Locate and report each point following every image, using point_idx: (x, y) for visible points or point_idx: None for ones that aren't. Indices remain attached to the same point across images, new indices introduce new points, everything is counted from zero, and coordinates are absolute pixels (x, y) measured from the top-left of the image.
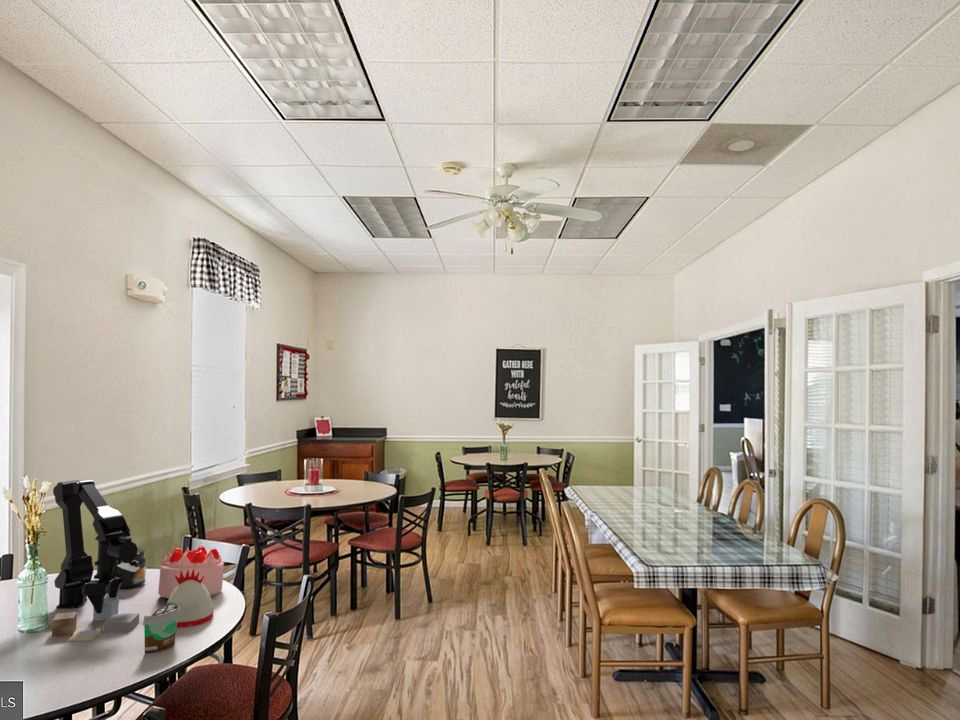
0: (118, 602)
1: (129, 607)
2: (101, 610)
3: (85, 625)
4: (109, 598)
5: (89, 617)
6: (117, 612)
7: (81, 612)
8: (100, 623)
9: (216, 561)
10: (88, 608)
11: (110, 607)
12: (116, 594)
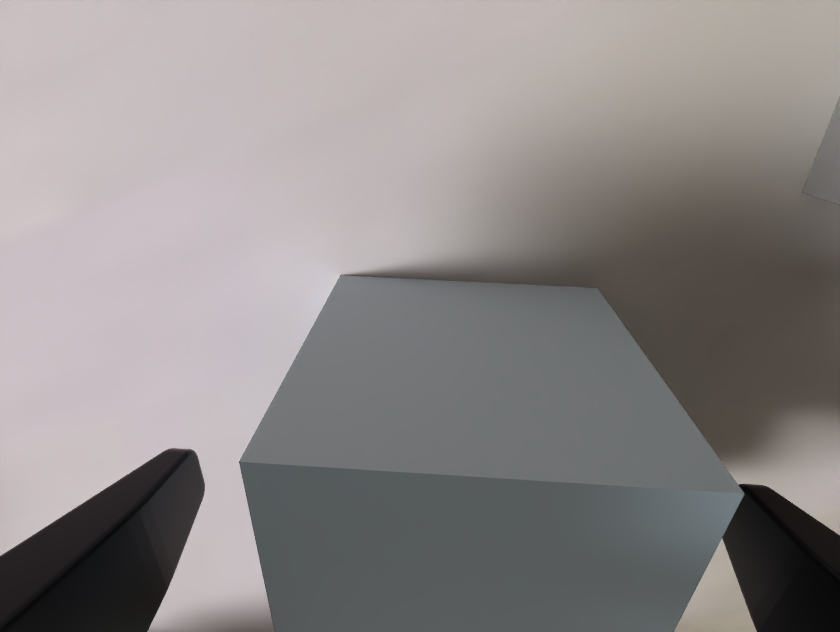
0: (290, 376)
1: (62, 197)
2: (808, 522)
3: None
4: (321, 606)
5: None
6: (363, 287)
7: None
8: (716, 371)
9: None
10: (183, 590)
11: (674, 427)
12: (60, 565)
